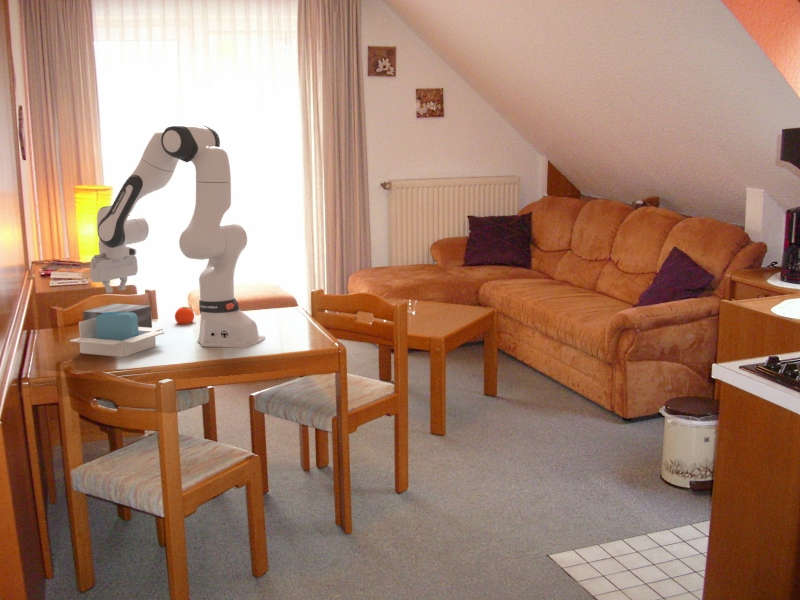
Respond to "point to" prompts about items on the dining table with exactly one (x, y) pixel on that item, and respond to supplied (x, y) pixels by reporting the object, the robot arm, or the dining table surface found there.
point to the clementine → (184, 315)
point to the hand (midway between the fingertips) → (115, 291)
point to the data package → (117, 325)
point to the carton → (114, 341)
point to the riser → (140, 310)
